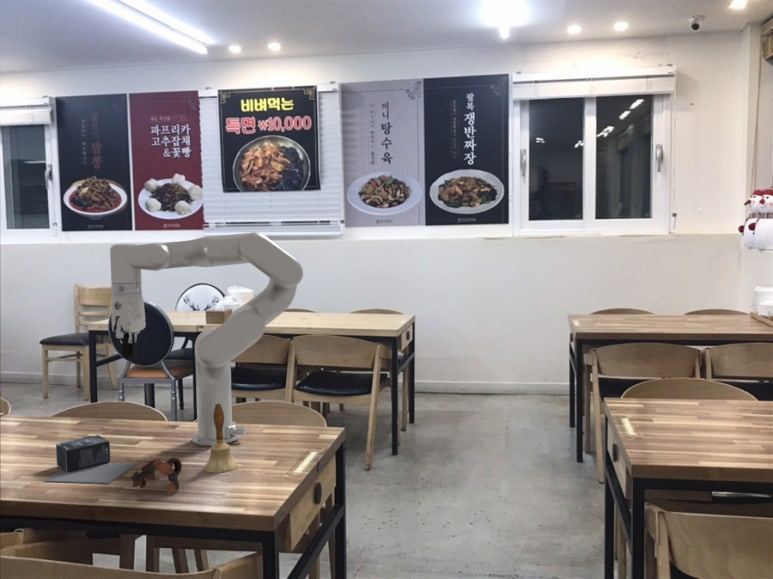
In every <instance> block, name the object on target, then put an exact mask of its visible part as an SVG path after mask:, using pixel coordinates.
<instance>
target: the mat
mask: <svg viewBox="0 0 773 579" xmlns="http://www.w3.org/2000/svg"><path fill="white" fill-rule="evenodd" d="M135 466H138V465H137V463H126V462H124V463H123V462H119V463H118V462H109V463H105V464H101V465H97V466H93V467H88V468H84V469H80V470H75V471H71V472H65V470H63V469H62V470H61V471H59V472H56V473H55V474H53V475H52V476H50V477H48V478H46V479H44V480H43V482H44V483H64V484H65V483H68V484H70V483H71V484H95V485H96V484H101V485H102V484H103V485H104V484H105V485H109V484H111V483H112V482H114V481H116V480H117V479H119V477H121V476H122V475H124V474H125V473H127V472H129V471H130V470H131V469H133V468H134V467H135Z"/></svg>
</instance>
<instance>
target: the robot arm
mask: <svg viewBox="0 0 773 579" xmlns="http://www.w3.org/2000/svg"><path fill="white" fill-rule="evenodd" d="M109 252H110V253H109V254H110V255H109V257H110V260H109V262H110V282H111V296H112V300H111V329H112V332H113V333H115V338H116V339H119V340H120V343H121V357H122V358H123V359H130V358H131V359H133V358H136V357H137V339H138V335H139V334H140V333H141V331H143V330H144V329H145V328H146V327H147V326H146V325H147V324H146V323H147V322H146V312H145V304H144V297H143V292H142V291H143V290H142V287H143V286H142V284H143V283H142V270H143V271H144V270H145V271H151V272H152V271H153V272H155V271H156V272H157V271H162V270H169V269H176V268H177V269H179V268H188V267H189V268H190V267H198V268H212V267H224V266H232V265H233V266H234V265H242V264H244V265H245V264H251V265H252V266H253V267H255V268H256V269H257V270H259V271H260V272H261V273H263V274H264V275H265V276H267V277H268V278H269V281H268V284H267V285H266V287H265V288H264V289H263V290H262V291H260V292H259V293H258V294H257V295H255V297H253V298H252V299H250V300H249V301H247V302H246V303H245V304H243V305H241V306H240V307H239V308H236V309H235V310H233V311H232V312H231V314H230V315H229V316H228V319H226V321H224V322H222V323H221V324H220V325H219V326H217V327H216V328H208V329H205V330H203V331H202V332H201V333H199V334H198V336H197V337H196V339H195V342H194V358H195V360H194V361H195V381H196V382H195V384H196V386H195V387H196V389H195V390H196V414H197V416H196V417H197V418H196V420H197V421H196V422H197V423H196V424H197V426H196V427H197V432H196V433H195V434H193V436H192V437H191V442H192V443H193V444H195V445H199V446H206V447H207V446H209V447H210V446H211V447H212V446H213V445H215V444H216V443H217V440H216V427H215V424H214V419H213V414H214V409H215V405H216V404H221V407H222V409H223V412H224V424H223V440H224V443H226V444H230V443H233V442H235V441H237V440H238V438H239V436H245V435H246V434H247V428H246V427H245V426H238V425H236V421H233V416H232V415H233V412H232V408H233V407H232V370H231V361H233V360H235V358H237V357H238V356H240V355H241V354H242V353H243V352H245V351H246V350H247V349H250V347H252V346H253V345H254V344H256V343H257V342H258V341H259V340H260V339H261V338H262V336H263V335H264V332H265V329H266V326H267V325H269V324H270V323H272V322H273V321H274V320H276V319H277V318H278V317H279V316H281V315H282V314H283V313H285V311H286V310H287V309H288V308H289V307H290V306H291V304H292V303H293V300H294V298H295V296H296V293H297V288H298V284H300V283H301V281H302V279H303V276H304V268H303V267H302V264H301V263H300V262H299V261H298V260H297V259H296V258H295V257H294V256H292V255H291V254H289V253H288V252H287V251H285V250H284V249H282V248H281V247H280V246H279V245H277V244H276V243H275V242H274V241H272V240H270V239H269V238H268V237H267V236H266V235H264V234H262V233H260V232H255V231H254V232H253V231H252V232H246V233H235V234H223V235H211V236H210V235H209V236H203V237H198V238H196V239H189V240H182V241H171V242H170V241H169V242H151V243H144V244H134V243H118V244H117V243H116V244H113V245H111V246H110V249H109ZM232 441H233V442H232Z"/></svg>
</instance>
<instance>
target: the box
mask: <svg viewBox="0 0 773 579" xmlns="http://www.w3.org/2000/svg"><path fill="white" fill-rule="evenodd" d="M55 448H56V450H55V451H56V452H55V454H56V466H58V467H60V468H61V469H62V470H65V472H71V471H75V470H80V469H84V468H88V467H93V466H97V465H101V464H105V463H111V443H110V441H109V440H107V439H105V438H104V437H102V436H101V435H99V434H97V435H93V436H91V435H90V436H88V437H83V438H78V439H74V440H68V441H64V442H60V443H55Z"/></svg>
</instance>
